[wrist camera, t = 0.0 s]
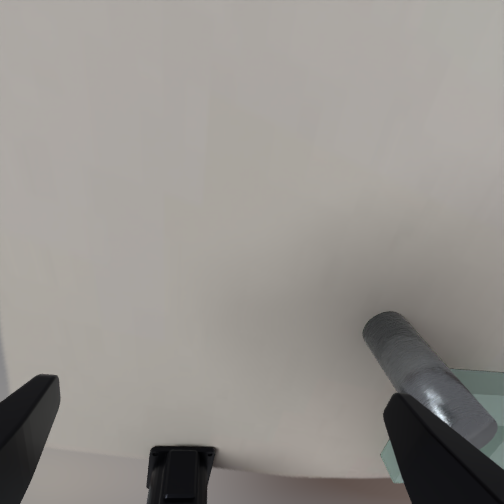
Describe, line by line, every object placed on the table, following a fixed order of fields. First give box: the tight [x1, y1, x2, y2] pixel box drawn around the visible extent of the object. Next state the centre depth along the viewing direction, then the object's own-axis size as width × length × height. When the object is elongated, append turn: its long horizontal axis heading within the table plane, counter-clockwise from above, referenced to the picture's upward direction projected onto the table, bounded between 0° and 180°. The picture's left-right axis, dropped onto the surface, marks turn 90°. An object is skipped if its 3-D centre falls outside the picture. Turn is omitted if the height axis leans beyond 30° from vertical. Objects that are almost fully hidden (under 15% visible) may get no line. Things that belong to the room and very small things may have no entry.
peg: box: [363, 312, 498, 449], centre depth 23 cm, size 4×4×10 cm
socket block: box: [381, 369, 504, 483], centre depth 33 cm, size 14×14×3 cm
